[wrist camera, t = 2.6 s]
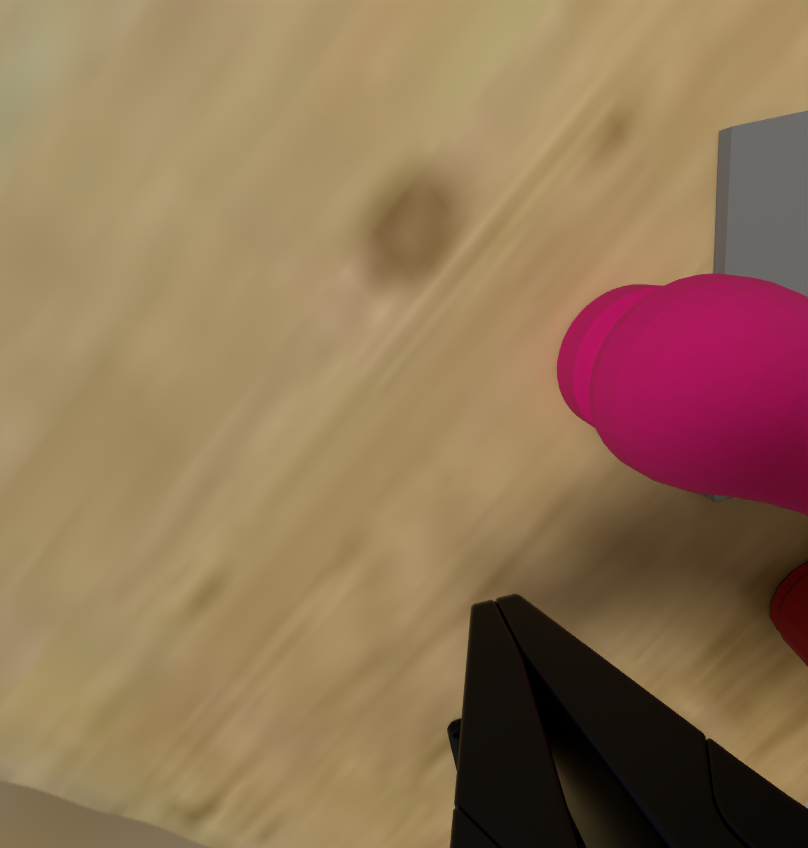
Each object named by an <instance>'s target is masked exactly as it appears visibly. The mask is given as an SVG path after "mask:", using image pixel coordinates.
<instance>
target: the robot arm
mask: <svg viewBox="0 0 808 848" xmlns="http://www.w3.org/2000/svg"><path fill="white" fill-rule="evenodd" d="M447 732H448V736H449V740H450V745H451V749H452V753H453V757H454V761H455V765H456V770H457V777H456V789H455V801H454V805H455V809H454V810H453V819H452V831H451V842H450V848H808V808H806V807H805V806H803V805H802V804H800V803H799V802H797V801H796V800H794V799H793V798H791V797H790V796H788V795H787V794H785V793H784V792H783V791H781V790H780V789H778V788H777V787H776V786H774V785H773V784H772V783H770V782H769V781H767V780H766V779H765V778H763V777H762V776H760V775H759V774H758V773H756V772H755V771H754V770H752V769H751V768H749V767H748V766H747V765H745V764H744V763H742V762H741V761H740V760H738V759H737V758H736V757H734V756H733V755H732V754H730V753H729V752H728V751H726V750H725V749H724V748H722V747H721V746H720V745H719V744H717V743H716V742H715V741H713V740H712V739H707V740H706V738H705V735H704V734H703V733H702V732H701V731H700V730H698V729H697V728H696V727H694V726H693V725H692V724H690V723H689V722H688V721H686V720H685V719H684V718H682V717H681V716H680V715H678V714H677V713H676V712H674V711H673V710H672V709H670V708H669V707H668V706H666V705H665V704H664V703H662V702H661V701H660V700H658V699H657V698H656V697H654V696H653V695H652V694H650V693H649V692H648V691H646V690H645V689H644V688H642V687H641V686H640V685H639V684H637V683H636V682H635V681H633V680H632V679H631V678H629V677H628V676H627V675H625V674H624V673H623V672H621V671H620V670H619V669H617V668H616V667H615V666H613V665H612V664H611V663H609V662H608V661H607V660H605V659H604V658H603V657H601V656H600V655H599V654H597V653H596V652H595V651H593V650H592V649H591V648H589V647H588V646H587V645H585V644H584V643H583V642H581V641H580V640H579V639H577V638H576V637H575V636H573V635H572V634H571V633H569V632H568V631H567V630H565V629H564V628H563V627H561V626H560V625H559V624H557V623H556V622H555V621H553V620H552V619H551V618H549V617H548V616H547V615H546V614H544V613H543V612H542V611H540V610H539V609H538V608H536V607H535V606H534V605H532V604H531V603H530V602H528V601H527V600H526V599H524V598H523V597H522V596H520V595H518V594H511V595H507V596H503V597H499V598H497V599H496V601H495V602H494V601H493V600H488V601H484V602H480V603H476V604H473V605H472V607H471V616H470V627H469V639H468V650H467V662H466V674H465V685H464V697H463V708H462V720H461V721H458V722H454V723H452V724H450V725H449V726H448V728H447Z"/></svg>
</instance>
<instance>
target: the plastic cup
mask: <svg viewBox="0 0 808 848" xmlns="http://www.w3.org/2000/svg"><path fill="white" fill-rule="evenodd" d="M770 618H771V620H772V621H773V623H774V625H775V627H776V629H777V630H778V631H779V632H780V634H781V635H782V637H783V639H784V640H785V642H786V643H787V644H788V645H789V646H790V647H791V648H792V649H793V650H794V652H795V653H796V654H797V655H798V656H799V657H800V658H801V659H802V660H803V662H804V663H805V664H806V665H807V666H808V562H807V563H805V564H804V565H802V566H801V567H799V568H797V569H796V570H794V571H793V572H792V573H791V574H790V575H789V576H788V577H787V578H786V579H785V580H784V581H783V582H782V584H781V585H780V586H779V587H778V589H777V591H776V593H775V595H774V597H773V599H772V602H771V612H770Z"/></svg>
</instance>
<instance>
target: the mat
mask: <svg viewBox="0 0 808 848" xmlns="http://www.w3.org/2000/svg"><path fill="white" fill-rule="evenodd" d="M715 273H720V274H728V275H737V276H745V277H753V278H757V279H762V280H767V281H771V282H774V283H776V284H779V285H781V286H784V287H786V288H788V289H791V290H793V291H796V292H798V293H801V294H803V295H805V296H807V297H808V111H804V112H800V113H795V114H790V115H785V116H781V117H776V118H771V119H766V120H761V121H757V122H752V123H747V124H742V125H738V126H733V127H730V128H727V129H724V130H721V131H719V150H718V176H717V201H716V227H715V252H714V274H715ZM705 496H706V497H707V498H709V499H710V500H712V501H713V502H716V501H720V500H724V499H728V498H732V497H728V496H720V495H711V494H705Z"/></svg>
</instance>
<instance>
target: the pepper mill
mask: <svg viewBox="0 0 808 848" xmlns="http://www.w3.org/2000/svg"><path fill="white" fill-rule="evenodd" d="M557 378H558V383H559V388H560V391H561V394H562V396H563V398H564V400H565V402H566V404H567V405H568V407H569V408H570V409H571V410H572V411H573V412H574V413H575V414H576V415H577V416H578V417H579V418H581V419H582V420H584V421H585V422H587V423H588V424H590V425H591V426H593V427H594V428H596V429H597V432H598V434H599V436H600V437H601V439H602V441H603V443H604V444H605V445H606V446H607V447H608V449H609V450H610V451H611V452H612V453H613V454H614V455H615V456H616V457H617V458H618V459H619V460H620V461H621V462H623V463H625V464H626V465H628V466H629V467H631V468H633V469H634V470H636V471H638V472H640V473H642V474H643V475H645V476H647V477H649V478H651V479H652V480H654V481H658V482H661V483H664V484H667V485H670V486H673V487H677V488H680V489H683V490H687V491H690V492H694V493H703V494H711V495H720V496H728V497H737V498H743V499H748V500H754V501H760V502H766V503H769V504H773V505H776V506H779V507H783V508H786V509H790V510H793V511H797V512H800V513H803V514H805V515H808V297H807V296H805V295H803V294H801V293H798V292H796V291H793V290H791V289H788V288H786V287H784V286H781V285H779V284H776V283H774V282H771V281H767V280H762V279H757V278H753V277H745V276H737V275H728V274H720V273H715V274H701V275H695V276H691V277H687V278H683V279H679V280H676V281H674V282H672V283H669V284H667V285H665V286H658V285H628V286H622V287H619V288H616V289H613V290H611V291H609V292H607V293H605V294H603V295H601V296H600V297H598V298H596V299H595V300H594V301H593V302H591V303H590V304H589V305H588V306H587V307H585V308H584V309H583V310H582V311H581V313H580V314H579V315H578V316H577V317H576V319H575V320H574V321H573V322H572V324H571V326H570V327H569V329H568V331H567V333H566V335H565V337H564V339H563V341H562V344H561V348H560V351H559V356H558V361H557Z"/></svg>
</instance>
